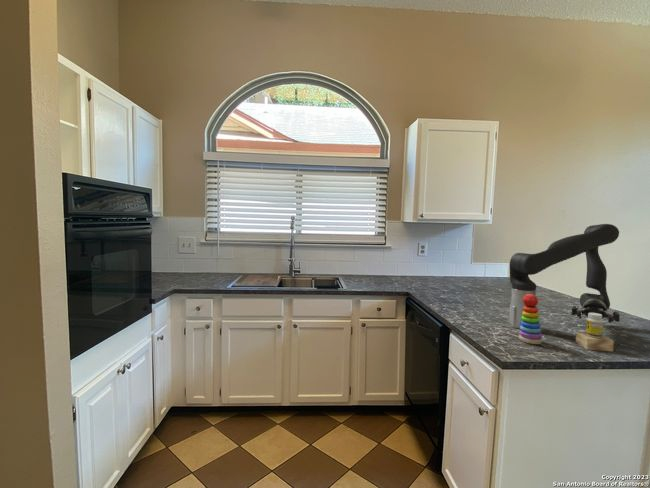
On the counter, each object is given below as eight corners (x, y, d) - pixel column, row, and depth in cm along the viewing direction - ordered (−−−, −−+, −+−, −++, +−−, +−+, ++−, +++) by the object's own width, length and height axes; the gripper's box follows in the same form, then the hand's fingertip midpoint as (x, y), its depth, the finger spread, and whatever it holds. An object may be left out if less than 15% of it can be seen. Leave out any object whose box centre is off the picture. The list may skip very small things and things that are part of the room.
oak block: (586, 349, 115) (587, 338, 115) (575, 341, 123) (576, 331, 123) (613, 351, 113) (613, 340, 113) (600, 343, 121) (600, 333, 120)
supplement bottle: (586, 332, 121) (586, 311, 121) (602, 335, 118) (603, 313, 118) (586, 336, 117) (587, 314, 117) (602, 339, 114) (604, 316, 114)
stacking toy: (537, 338, 126) (538, 292, 125) (546, 345, 119) (548, 297, 118) (515, 336, 128) (516, 291, 127) (523, 344, 120) (524, 296, 119)
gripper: (573, 297, 135) (571, 305, 123) (618, 302, 126) (621, 311, 114) (572, 314, 136) (570, 323, 123) (617, 321, 127) (620, 331, 114)
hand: (594, 317), depth 119 cm, fingers open, 8 cm apart
